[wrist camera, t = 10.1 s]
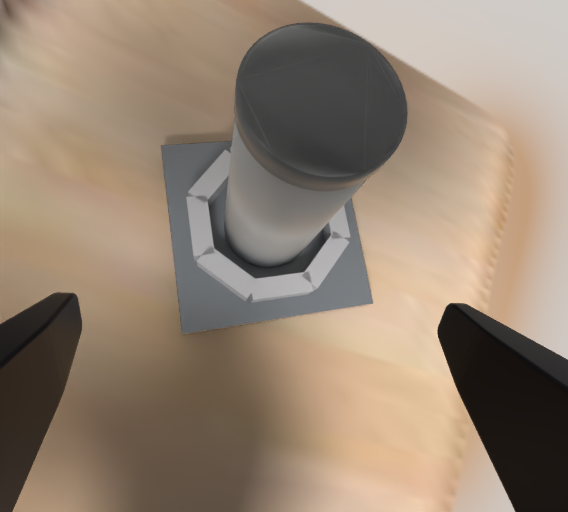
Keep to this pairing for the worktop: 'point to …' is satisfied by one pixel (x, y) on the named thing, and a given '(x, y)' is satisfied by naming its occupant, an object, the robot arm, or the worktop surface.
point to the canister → (305, 136)
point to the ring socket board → (238, 273)
